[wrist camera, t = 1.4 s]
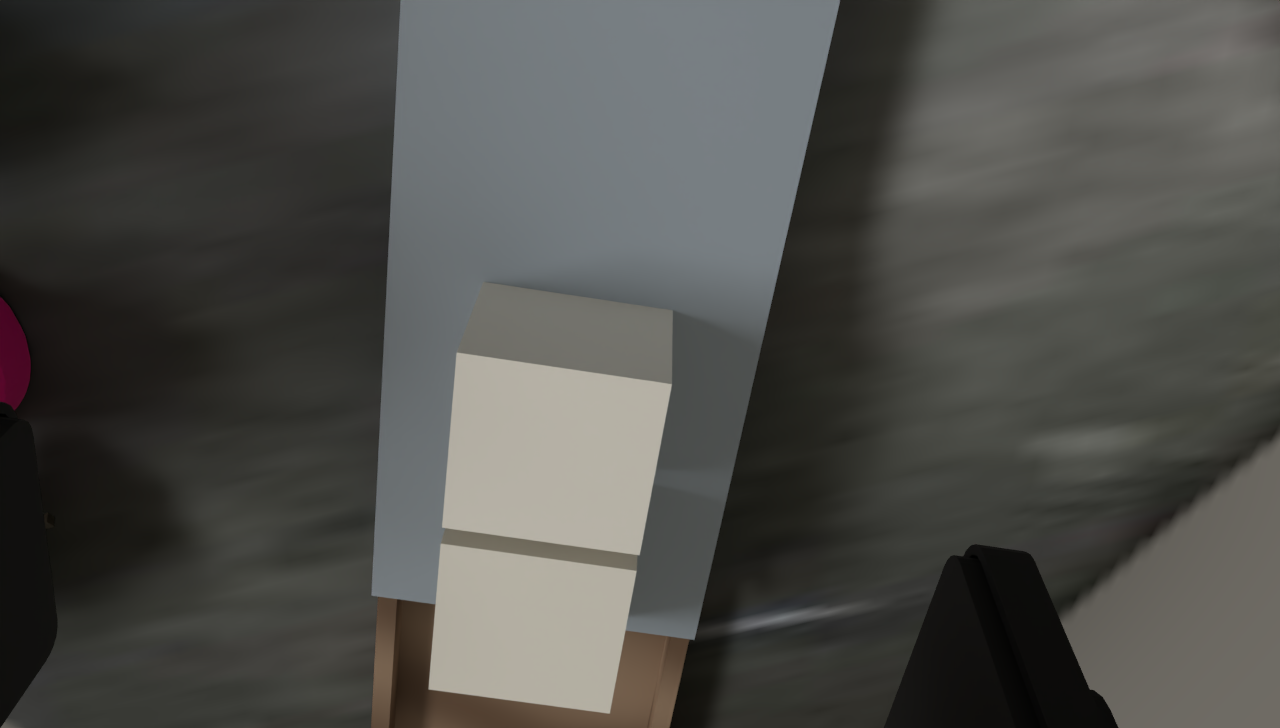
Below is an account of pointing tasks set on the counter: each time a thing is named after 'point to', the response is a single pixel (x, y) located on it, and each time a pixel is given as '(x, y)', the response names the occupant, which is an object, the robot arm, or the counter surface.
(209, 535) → the counter surface
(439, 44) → the slate bench
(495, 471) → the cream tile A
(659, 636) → the walnut box
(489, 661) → the cream square block
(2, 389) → the pepper mill
